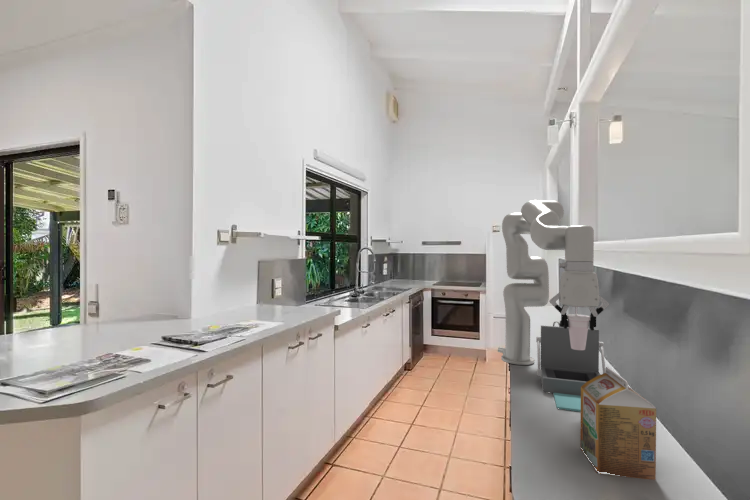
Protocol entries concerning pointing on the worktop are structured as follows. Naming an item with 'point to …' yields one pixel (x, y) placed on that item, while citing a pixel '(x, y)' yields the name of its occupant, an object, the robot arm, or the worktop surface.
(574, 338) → the smoothie
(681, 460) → the worktop surface
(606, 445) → the milk carton
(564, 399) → the mat
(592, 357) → the case
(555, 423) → the worktop surface
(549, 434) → the worktop surface
